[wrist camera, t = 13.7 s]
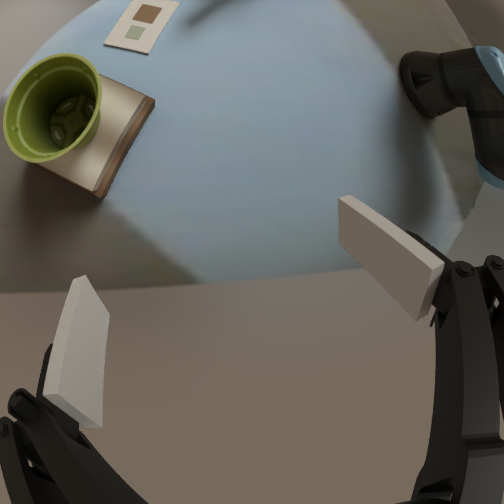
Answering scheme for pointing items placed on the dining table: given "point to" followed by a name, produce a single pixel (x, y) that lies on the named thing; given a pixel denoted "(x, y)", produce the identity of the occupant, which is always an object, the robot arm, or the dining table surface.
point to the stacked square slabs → (104, 139)
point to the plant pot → (53, 108)
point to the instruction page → (141, 24)
